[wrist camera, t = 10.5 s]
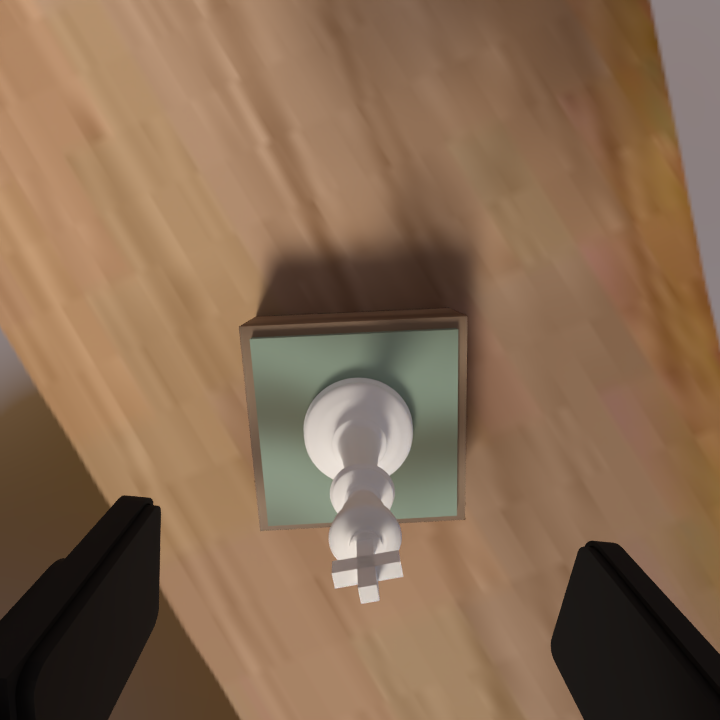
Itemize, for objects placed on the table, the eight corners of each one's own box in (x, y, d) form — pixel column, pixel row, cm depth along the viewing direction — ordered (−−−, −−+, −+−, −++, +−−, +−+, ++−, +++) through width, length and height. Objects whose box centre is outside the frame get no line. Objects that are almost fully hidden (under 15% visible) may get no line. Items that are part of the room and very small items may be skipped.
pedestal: (255, 316, 22) (236, 328, 19) (448, 307, 23) (470, 317, 19) (272, 492, 25) (258, 536, 21) (448, 483, 25) (467, 524, 21)
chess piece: (293, 387, 19) (237, 517, 9) (403, 368, 19) (462, 478, 9) (315, 487, 20) (285, 697, 11) (419, 469, 20) (487, 663, 10)
